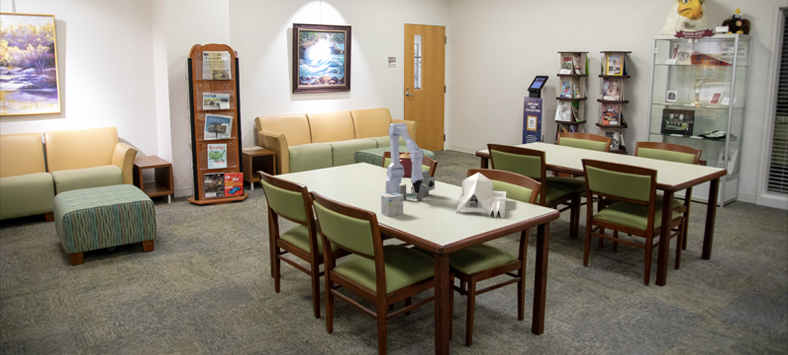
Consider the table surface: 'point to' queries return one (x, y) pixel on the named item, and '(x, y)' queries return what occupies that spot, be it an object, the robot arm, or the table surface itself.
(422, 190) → the post right
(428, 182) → the circuit breaker
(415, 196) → the pad
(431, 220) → the table surface
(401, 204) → the light bulb box
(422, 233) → the table surface
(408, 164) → the canister
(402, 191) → the post left
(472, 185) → the white faceted model
